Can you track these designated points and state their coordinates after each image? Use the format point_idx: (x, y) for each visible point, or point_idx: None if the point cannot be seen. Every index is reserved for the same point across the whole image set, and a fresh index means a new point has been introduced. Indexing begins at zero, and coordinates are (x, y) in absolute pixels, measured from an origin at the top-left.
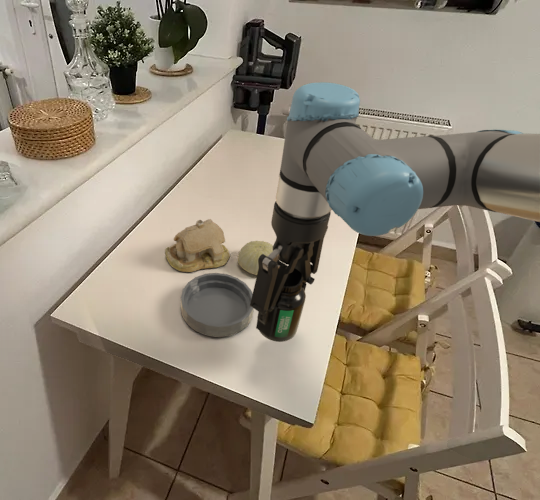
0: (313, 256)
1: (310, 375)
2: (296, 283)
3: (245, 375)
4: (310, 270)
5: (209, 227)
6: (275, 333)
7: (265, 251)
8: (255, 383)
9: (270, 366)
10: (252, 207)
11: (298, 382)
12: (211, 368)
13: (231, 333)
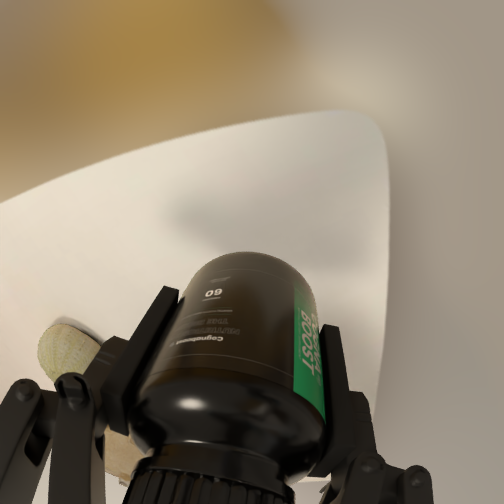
0: (7, 490)
1: (265, 142)
2: None
3: (350, 271)
4: (52, 446)
5: (112, 464)
6: (317, 321)
7: (58, 369)
8: (359, 245)
9: (298, 235)
10: (17, 379)
11: (303, 160)
12: (364, 329)
13: None
